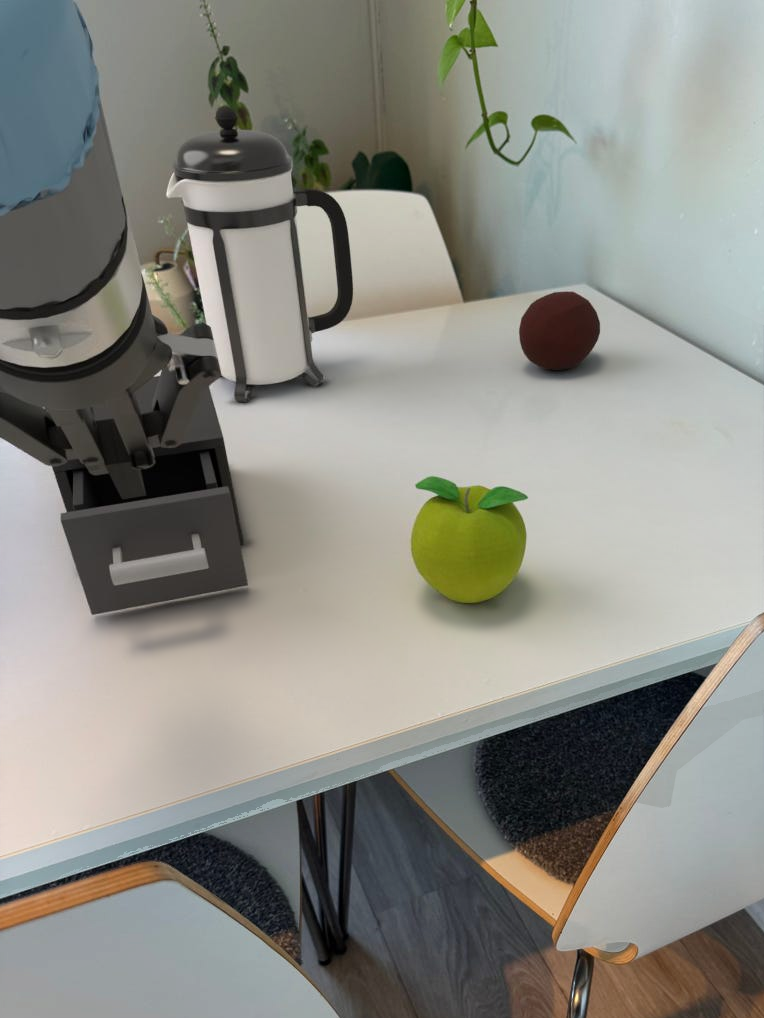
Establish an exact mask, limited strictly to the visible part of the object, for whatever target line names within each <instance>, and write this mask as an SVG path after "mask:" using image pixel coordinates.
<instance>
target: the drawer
mask: <svg viewBox="0 0 764 1018" xmlns="http://www.w3.org/2000/svg"><path fill="white" fill-rule="evenodd" d="M155 462H156V463H155V464H154V465H153V466H152V467H150V468H147V469H141V474H142V478H143V483H144V488H145V492H146V496H140V497H133V498H127V499H122V498H121V496H120V494H119V492H118V490H117V488H116V486H115V484H114V482H113V480H112V478H111V476H110V474H109V473H107V474H101V475H93V474H91V473H90V472H89V471H88V469H87V467H86V468H79V469H73V508H74V511H72V512H67V511H65V512H61V513H60V524H61V526H62V529H63V533H64V535H65V539H66V541H67V544H68V547H69V550H70V553H71V557H72V559H73V562H74V565H75V568H76V571H77V572H76V573H77V574H78V577H79V580H80V584H81V587H82V589H83V593H84V595H85V599H86V602H87V605H88V606H89V610H90V613H91V615H92V616H94V615H100V614H105V613H111V612H116V611H121V610H126V609H131V608H137V607H141V606H146V605H147V606H148V605H152V604H157V603H163V602H168V601H174V600H178V599H183V598H184V599H185V598H190V597H195V596H200V595H205V594H210V593H216V592H220V591H226V590H231V589H236V588H241V587H247V586H248V585H249V582H248V577H247V573H246V572H247V571H246V567H245V562H244V561H245V560H244V557H243V552H242V545H240V541H239V536H238V531H237V526H236V521H235V516H234V511H233V505H232V500H231V495H230V491H229V487H228V486H226V487H220V488H218V487H217V482H216V478H215V474H214V470H213V466H212V462H211V458H210V454H209V450H208V449H205V450H198V451H192V452H185V453H178V454H172V455H165V456H159V457H155Z"/></svg>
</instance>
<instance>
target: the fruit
mask: <svg viewBox="0 0 764 1018" xmlns="http://www.w3.org/2000/svg"><path fill="white" fill-rule="evenodd" d="M414 486H415V488H416V489H418V490H423V491H428V492H431V493H433V494H435V496H433V497H430V498H429V499H427V501H425V503H424V504H423V505H422V506H421V508H420V509H419V511H418V513H417V515H416V517H415V519H414V523H413V526H412V531H411V537H410V553H411V556H412V560H413V563H414V565H415V567H416V570H417V572H418V573H419V574H420V576H421V577H422V578H423V580H425V581H426V583H427V584H429V585H430V586H431V587H432V588H433V589H434V590H435V591H438V592H439V593H440V594H441V595H443V596H444V597H446V598H448V599H449V600H451V601H453V602H457V603H462V604H475V603H481V602H485V601H487V600H491V599H492V598H494V597H496V596H498V595H499V594H500V593H502V592H503V591H504V590H505V589H506V588H508V586H510V584H511V583H512V582H513V581H514V579H516V576H517V575H518V573H519V571H520V568H521V566H522V565H523V564H522V563H523V561H524V557H525V553H526V547H527V528H526V523H525V521H524V518H523V516H522V514H521V512H520V510H519V509H518V508H517V506H516V505H515V504H514V503H515V502H520V501H524V500H525V501H526V500H527V499H528V498H529V496H528V495H526V493H523V492H522V491H519V490H516V489H515V488H512V487H508V486H503V485H501V486H500V485H499V486H495V487H493V488H491V489H490V488H488V487H485V486H483V485H470V486H457V484H456V483H454V482H453V481H451V480H449V479H447V478H442V477H438V476H433V475H431V476H427V477H425V478H423V479H421V480H420V481H418V482H417V483H416V484H414Z"/></svg>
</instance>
